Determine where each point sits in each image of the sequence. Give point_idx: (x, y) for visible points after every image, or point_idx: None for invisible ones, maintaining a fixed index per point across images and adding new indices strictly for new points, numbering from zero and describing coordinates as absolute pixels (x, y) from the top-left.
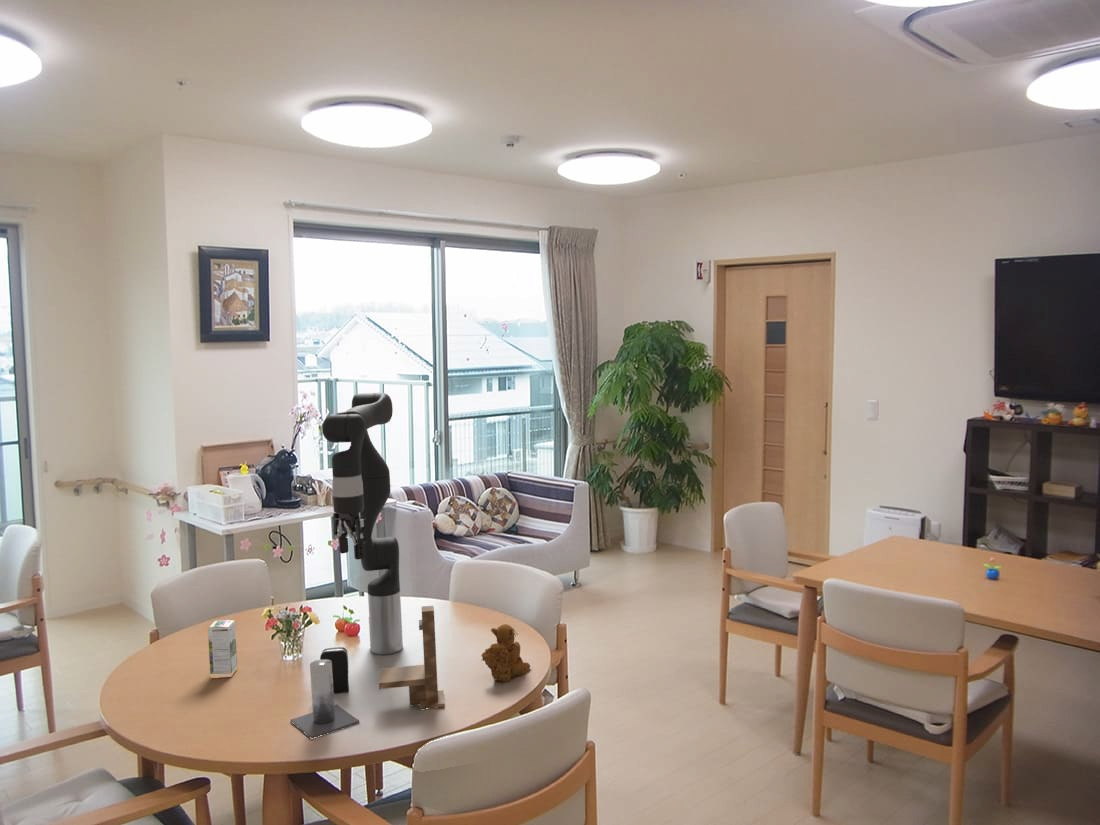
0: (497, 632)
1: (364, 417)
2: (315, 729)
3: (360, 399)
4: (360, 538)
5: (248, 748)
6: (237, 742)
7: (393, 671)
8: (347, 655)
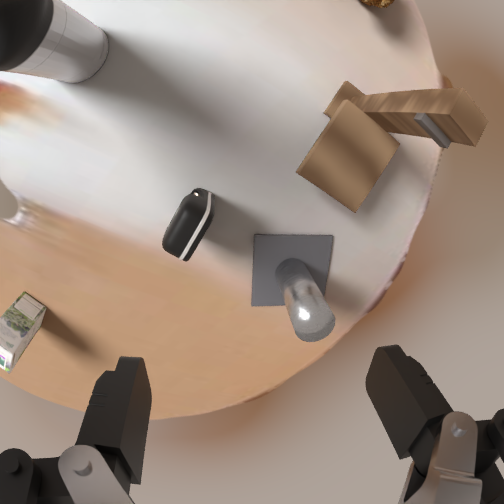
0: None
1: None
2: None
3: None
4: (444, 460)
5: (281, 358)
6: (256, 362)
7: (331, 162)
8: (207, 208)
